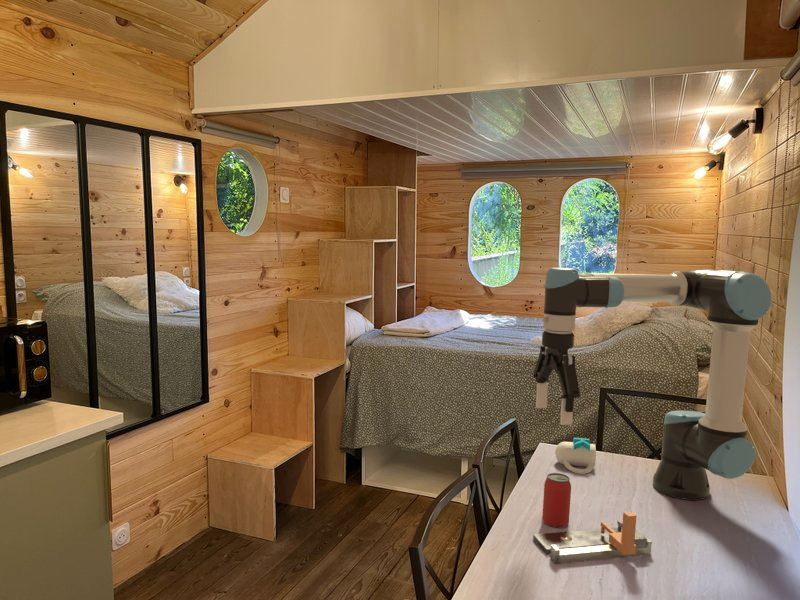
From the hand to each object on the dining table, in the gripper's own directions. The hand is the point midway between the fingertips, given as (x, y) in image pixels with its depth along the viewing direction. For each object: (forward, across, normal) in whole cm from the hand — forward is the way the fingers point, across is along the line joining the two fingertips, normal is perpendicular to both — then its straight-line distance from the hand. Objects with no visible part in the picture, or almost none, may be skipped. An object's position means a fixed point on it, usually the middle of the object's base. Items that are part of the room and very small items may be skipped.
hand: (553, 415), depth 152 cm
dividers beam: (+28, +14, +5) cm, 32 cm away
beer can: (+28, 0, +2) cm, 28 cm away
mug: (+28, -34, +26) cm, 51 cm away
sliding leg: (+26, +15, +10) cm, 32 cm away
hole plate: (+28, +10, +5) cm, 30 cm away
